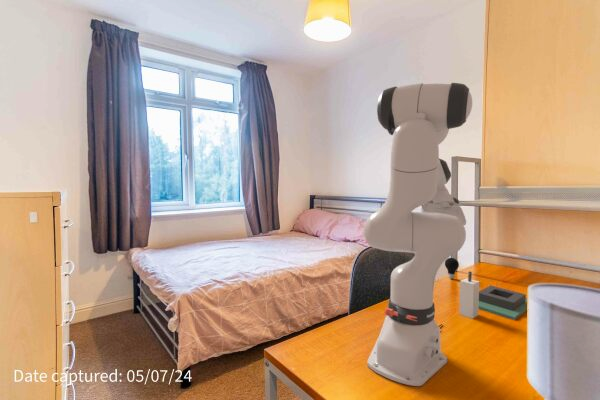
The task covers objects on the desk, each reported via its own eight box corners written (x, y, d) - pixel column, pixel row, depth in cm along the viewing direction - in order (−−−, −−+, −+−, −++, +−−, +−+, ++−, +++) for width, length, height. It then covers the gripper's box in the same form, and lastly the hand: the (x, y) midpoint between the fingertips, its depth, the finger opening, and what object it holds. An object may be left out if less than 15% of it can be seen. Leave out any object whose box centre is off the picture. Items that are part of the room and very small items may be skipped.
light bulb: (460, 281, 140) (461, 259, 139) (448, 281, 140) (448, 259, 139) (454, 276, 146) (455, 256, 145) (442, 276, 146) (442, 256, 145)
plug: (472, 318, 104) (473, 274, 102) (459, 314, 107) (460, 271, 106) (478, 315, 106) (479, 271, 105) (465, 310, 110) (466, 268, 108)
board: (514, 320, 102) (514, 308, 102) (465, 304, 115) (465, 294, 114) (536, 302, 115) (536, 292, 115) (489, 290, 128) (490, 281, 128)
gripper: (427, 195, 106) (440, 233, 100) (462, 200, 116) (475, 235, 110) (413, 203, 111) (425, 239, 105) (447, 207, 121) (460, 240, 115)
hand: (451, 237), depth 108 cm, fingers open, 8 cm apart
